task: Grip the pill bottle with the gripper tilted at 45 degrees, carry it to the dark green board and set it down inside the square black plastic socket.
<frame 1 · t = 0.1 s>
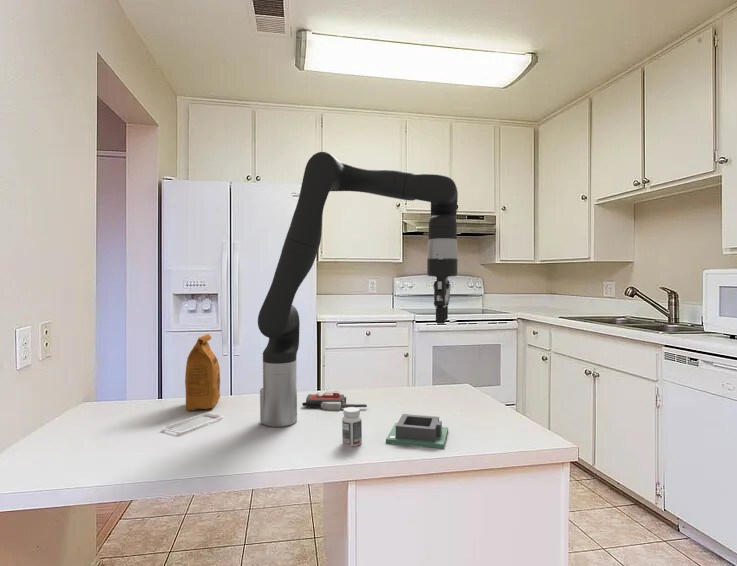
hand: (441, 321, 114), 29 cm above the counter, tool pointing down, fingers open, 8 cm apart
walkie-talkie: (335, 407, 141), on the counter
phone case: (193, 427, 124), on the counter
coffee package: (203, 406, 141), on the counter
socket board: (418, 436, 114), on the counter
pill bottle: (352, 443, 110), on the counter
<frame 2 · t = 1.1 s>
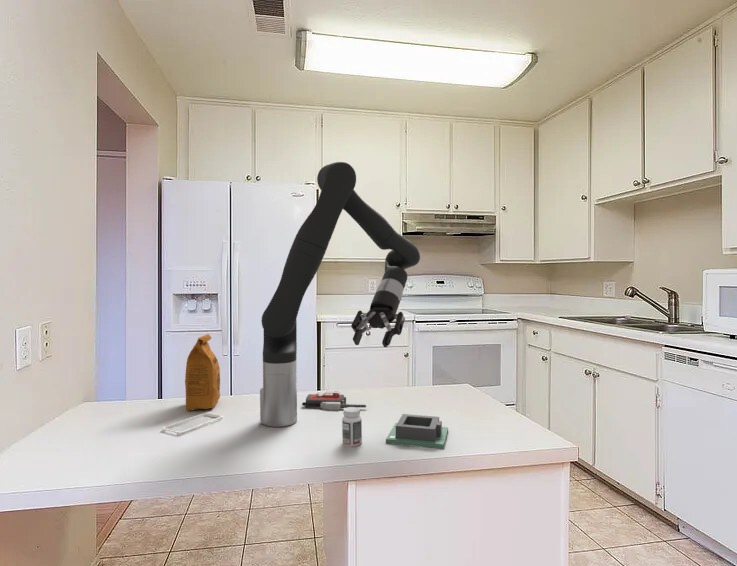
hand: (369, 344, 119), 23 cm above the counter, tool tilted 45°, fingers open, 8 cm apart
nothing on the counter moved.
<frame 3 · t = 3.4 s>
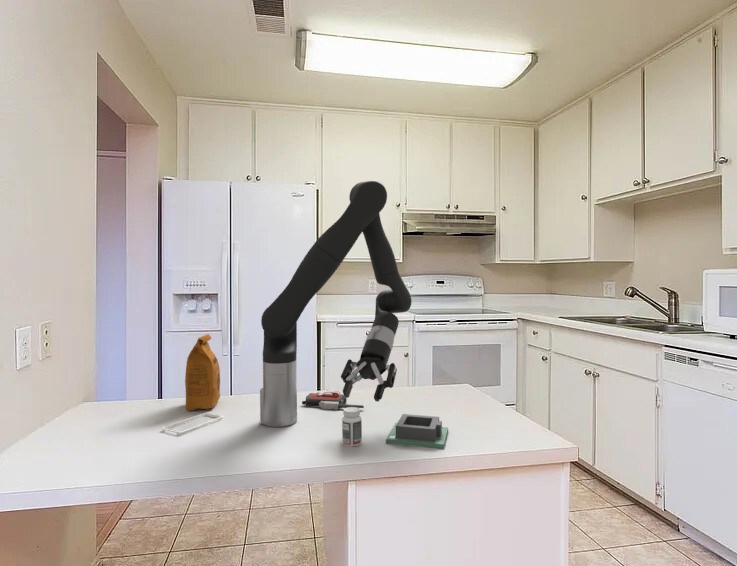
hand: (360, 398, 114), 10 cm above the counter, tool tilted 45°, fingers open, 8 cm apart
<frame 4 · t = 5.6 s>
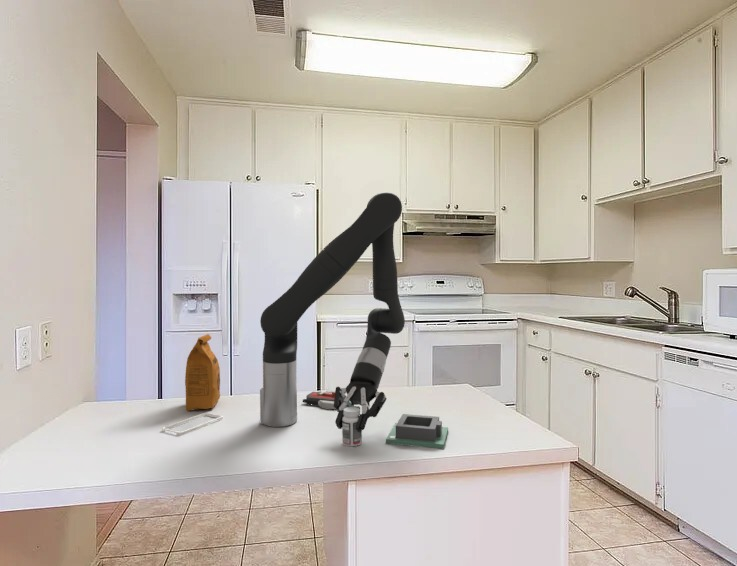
hand: (348, 428, 108), 4 cm above the counter, tool tilted 45°, fingers closed on pill bottle, 4 cm apart
pill bottle: (352, 443, 110), on the counter, touching gripper
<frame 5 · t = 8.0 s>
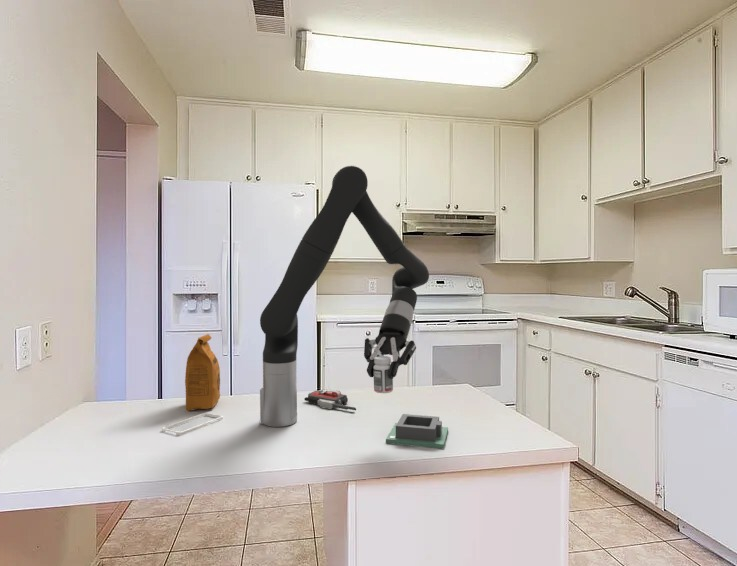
hand: (380, 376, 110), 16 cm above the counter, tool tilted 45°, fingers closed on pill bottle, 4 cm apart
pill bottle: (383, 391, 112), point 12 cm above the counter, touching gripper
when the fingers open (6 cm above the counter, at t = 10.5 s): pill bottle stays where it is, resting on socket board.
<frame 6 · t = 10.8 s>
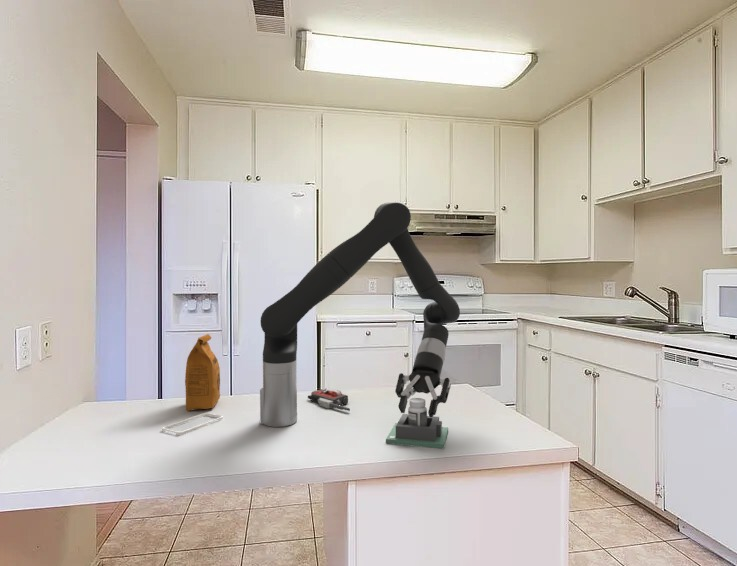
hand: (416, 413, 112), 6 cm above the counter, tool tilted 45°, fingers open, 7 cm apart
pill bottle: (417, 433, 114), point 1 cm above the counter, touching socket board
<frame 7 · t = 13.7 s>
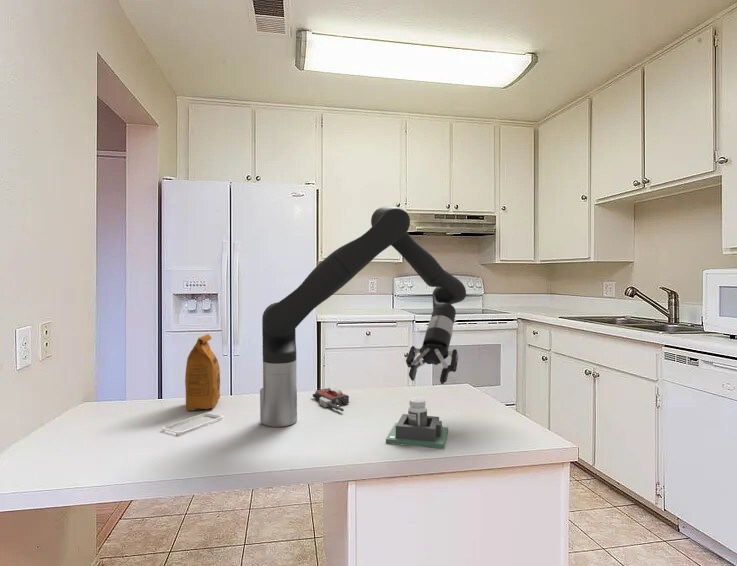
hand: (426, 380, 124), 12 cm above the counter, tool tilted 45°, fingers open, 8 cm apart
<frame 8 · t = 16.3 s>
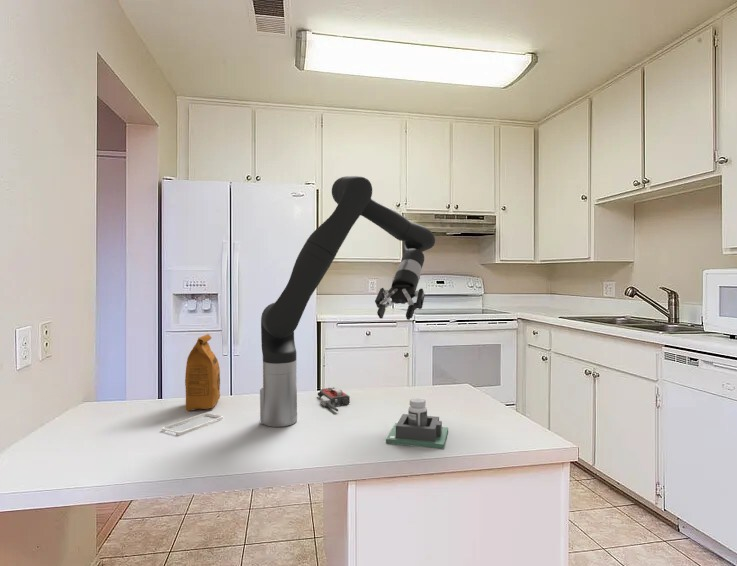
hand: (393, 317, 130), 29 cm above the counter, tool tilted 45°, fingers open, 8 cm apart
at the end: pill bottle 0.2 cm off-centre on the socket board, point 0.8 cm above the socket board's base; pill bottle tilted 0°; the gripper is holding nothing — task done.
